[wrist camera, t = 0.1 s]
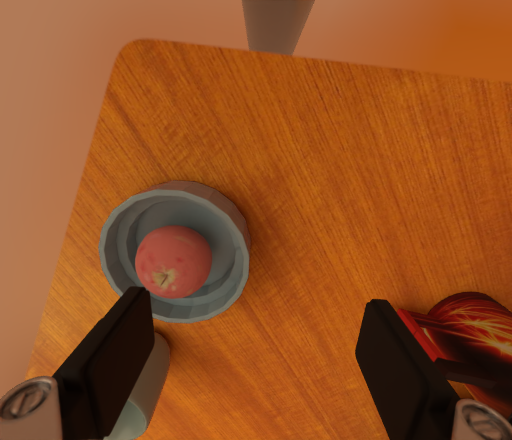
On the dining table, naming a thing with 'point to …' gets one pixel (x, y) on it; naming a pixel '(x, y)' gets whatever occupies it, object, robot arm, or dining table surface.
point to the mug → (470, 345)
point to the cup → (144, 394)
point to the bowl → (192, 216)
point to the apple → (173, 261)
